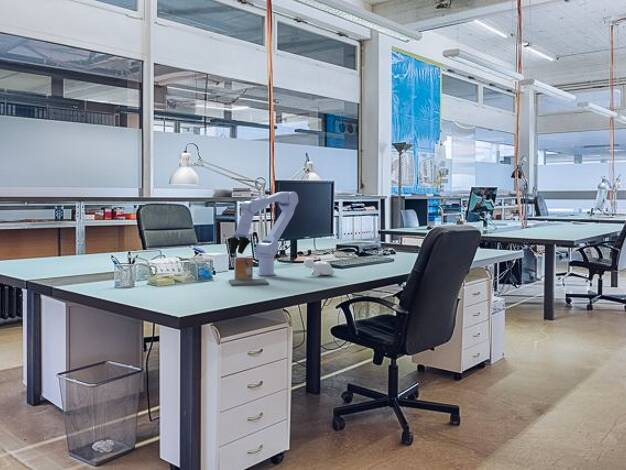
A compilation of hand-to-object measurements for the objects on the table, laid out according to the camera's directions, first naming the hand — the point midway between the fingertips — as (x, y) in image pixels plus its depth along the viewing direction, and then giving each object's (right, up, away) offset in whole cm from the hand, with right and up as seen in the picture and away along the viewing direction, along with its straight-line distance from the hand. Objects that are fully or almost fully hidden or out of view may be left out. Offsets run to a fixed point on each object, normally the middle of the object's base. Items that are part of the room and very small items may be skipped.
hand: (235, 253), depth 269 cm
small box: (+4, -12, -3) cm, 13 cm away
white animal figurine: (+38, -11, +13) cm, 42 cm away
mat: (+7, -13, -12) cm, 19 cm away
